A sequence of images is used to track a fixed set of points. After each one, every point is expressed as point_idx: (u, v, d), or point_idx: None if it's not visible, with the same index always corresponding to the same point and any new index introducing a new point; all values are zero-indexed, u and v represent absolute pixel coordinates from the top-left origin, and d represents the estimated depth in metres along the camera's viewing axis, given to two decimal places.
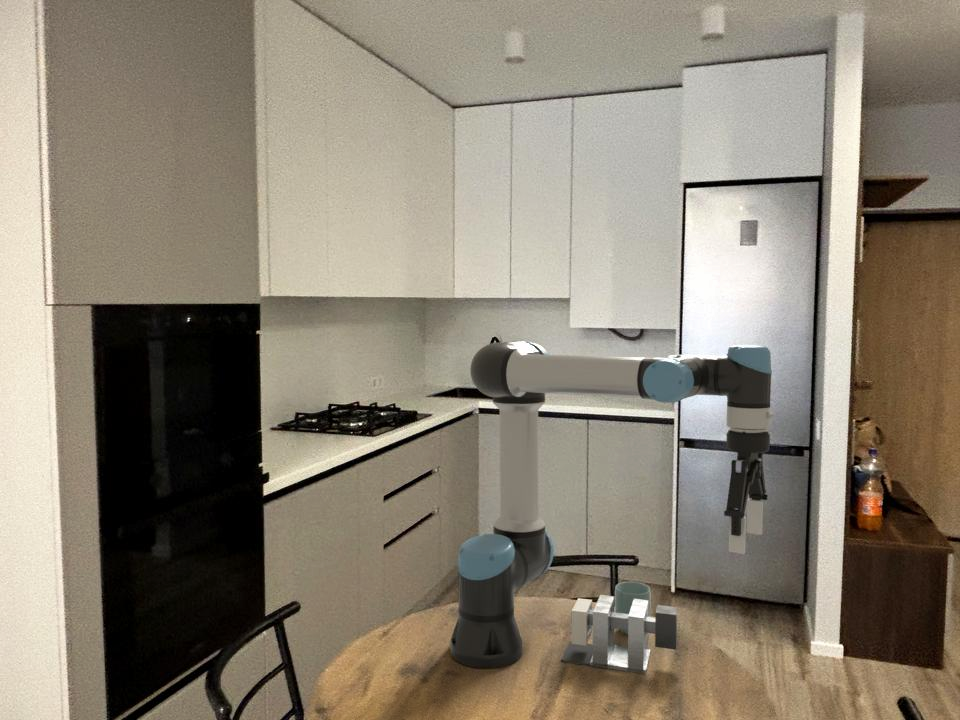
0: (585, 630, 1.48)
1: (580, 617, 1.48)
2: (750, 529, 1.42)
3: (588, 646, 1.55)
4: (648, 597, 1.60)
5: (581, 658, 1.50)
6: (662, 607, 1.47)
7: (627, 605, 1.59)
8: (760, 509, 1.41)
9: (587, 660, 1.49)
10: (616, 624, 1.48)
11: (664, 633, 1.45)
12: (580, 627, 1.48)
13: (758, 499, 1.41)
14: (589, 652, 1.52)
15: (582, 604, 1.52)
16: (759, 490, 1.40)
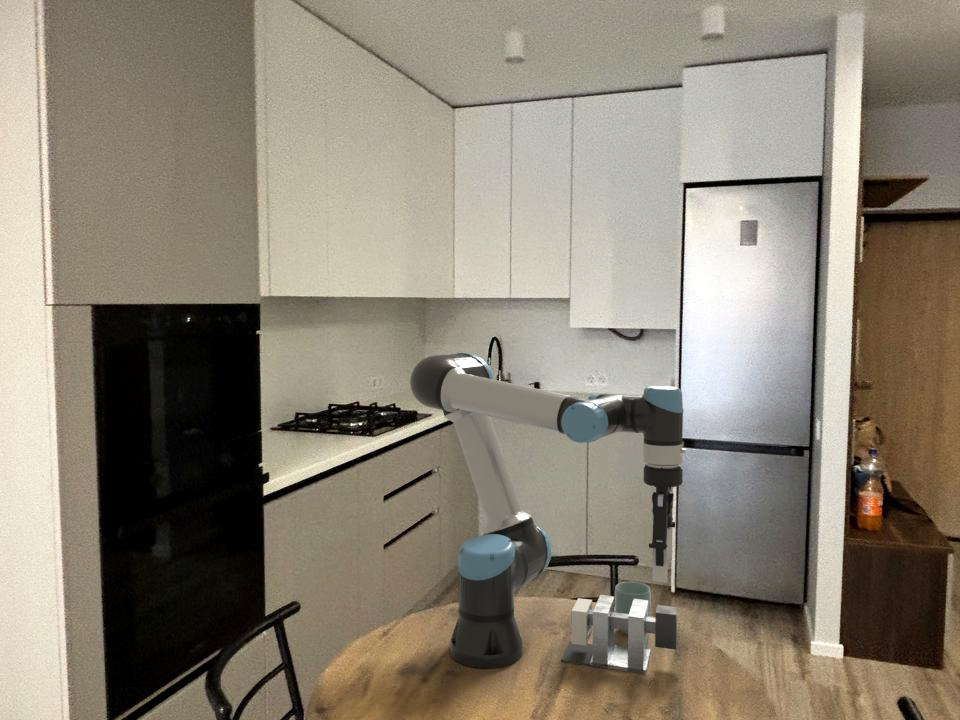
0: (585, 630, 1.48)
1: (580, 617, 1.48)
2: None
3: (588, 646, 1.55)
4: (648, 597, 1.60)
5: (581, 658, 1.50)
6: (662, 607, 1.47)
7: (627, 605, 1.59)
8: (670, 536, 1.51)
9: (587, 660, 1.49)
10: (616, 624, 1.48)
11: (664, 633, 1.45)
12: (580, 627, 1.48)
13: (667, 527, 1.52)
14: (589, 652, 1.52)
15: (582, 604, 1.52)
16: (669, 519, 1.50)
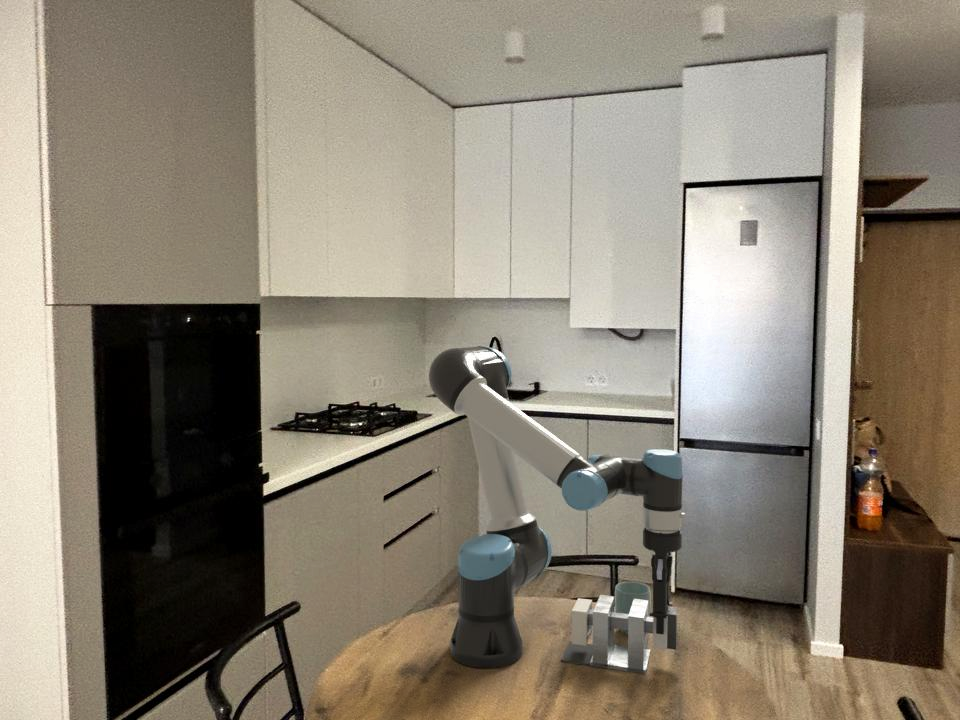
0: (585, 630, 1.48)
1: (580, 617, 1.48)
2: None
3: (588, 646, 1.55)
4: (648, 597, 1.60)
5: (581, 658, 1.50)
6: None
7: (627, 605, 1.59)
8: None
9: (587, 660, 1.49)
10: (616, 624, 1.48)
11: None
12: (580, 627, 1.48)
13: None
14: (589, 652, 1.52)
15: (582, 604, 1.52)
16: (667, 592, 1.48)
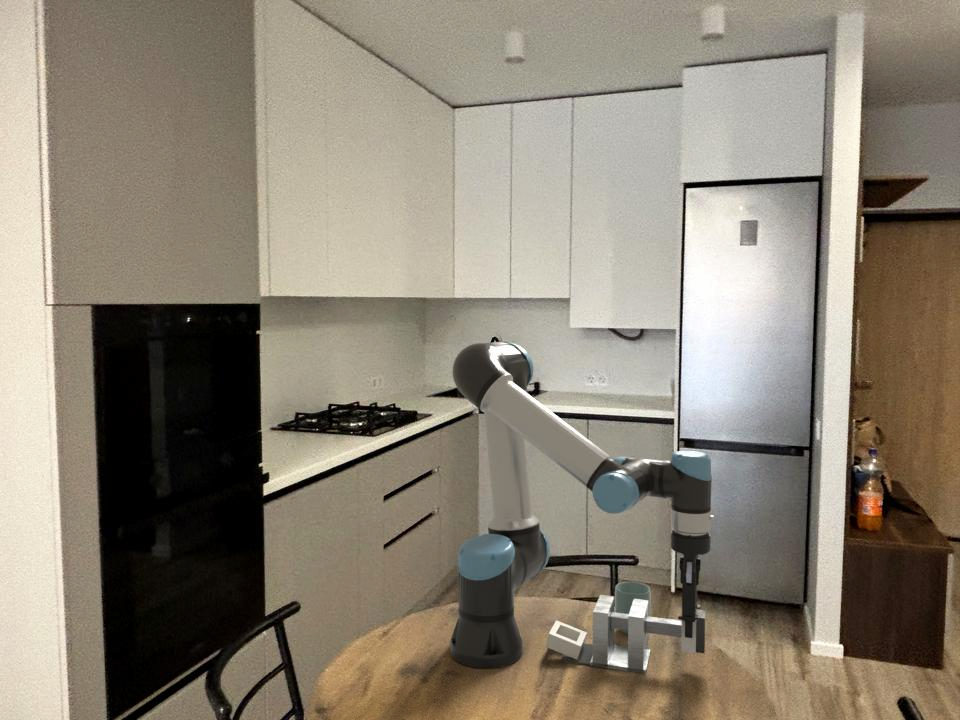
0: (566, 641, 1.49)
1: (553, 641, 1.50)
2: None
3: (588, 646, 1.55)
4: (648, 597, 1.60)
5: (581, 658, 1.50)
6: None
7: (627, 605, 1.59)
8: None
9: (587, 660, 1.49)
10: None
11: None
12: (562, 644, 1.50)
13: None
14: (589, 652, 1.52)
15: None
16: None
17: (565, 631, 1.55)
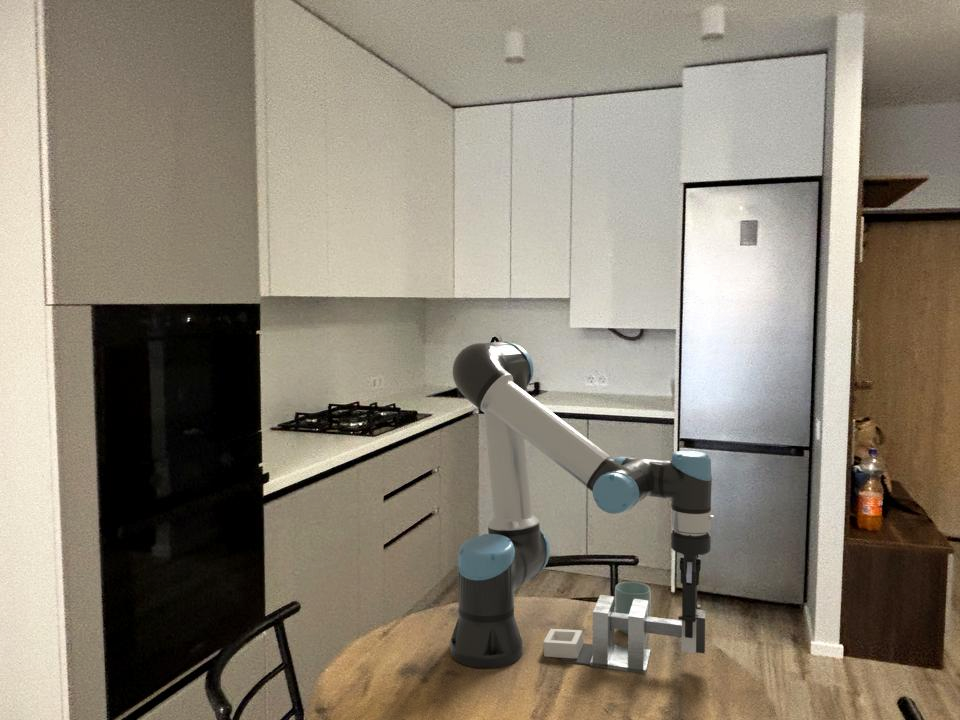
0: (561, 644, 1.50)
1: (549, 648, 1.51)
2: None
3: (588, 646, 1.55)
4: (648, 597, 1.60)
5: (581, 658, 1.50)
6: None
7: (627, 605, 1.59)
8: None
9: (587, 660, 1.49)
10: None
11: None
12: (559, 648, 1.50)
13: None
14: (589, 652, 1.52)
15: None
16: (695, 595, 1.46)
17: (561, 636, 1.56)
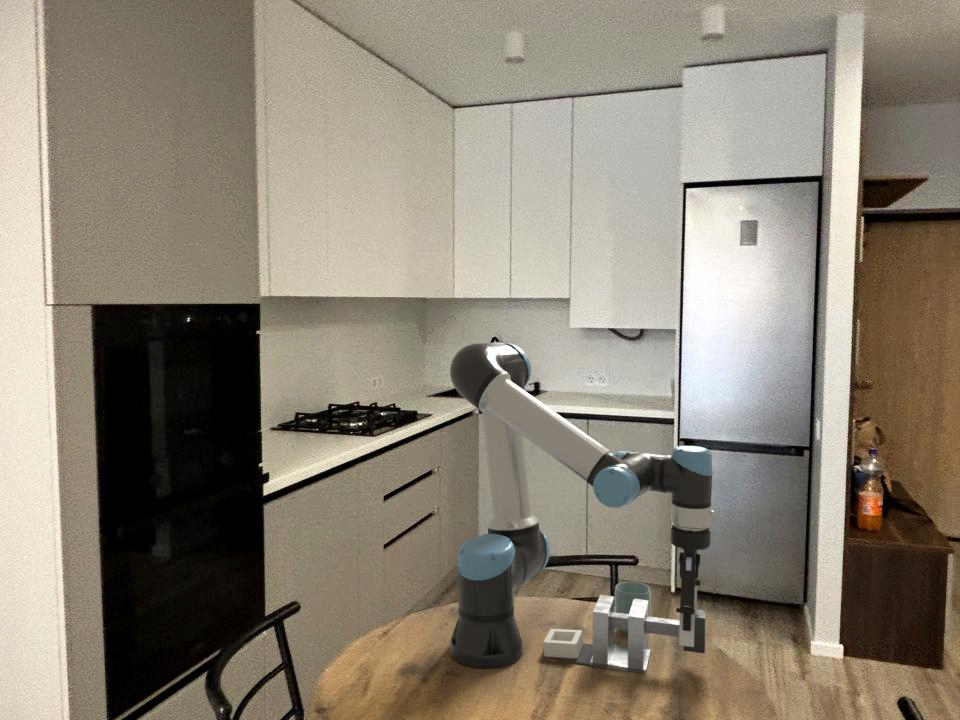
0: (561, 644, 1.50)
1: (549, 648, 1.51)
2: None
3: (588, 646, 1.55)
4: (648, 597, 1.60)
5: (581, 658, 1.50)
6: None
7: (627, 605, 1.59)
8: (695, 595, 1.51)
9: (587, 660, 1.49)
10: None
11: None
12: (559, 648, 1.50)
13: None
14: (589, 652, 1.52)
15: None
16: None
17: (561, 636, 1.56)
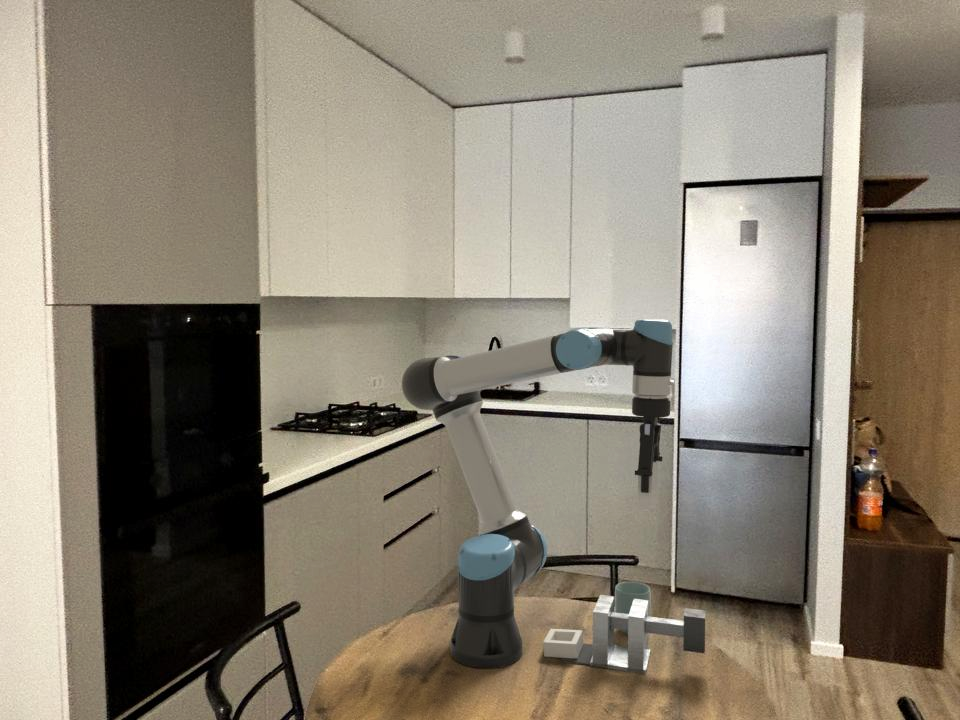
0: (561, 644, 1.50)
1: (549, 648, 1.51)
2: None
3: (588, 646, 1.55)
4: (648, 597, 1.60)
5: (581, 658, 1.50)
6: (690, 610, 1.46)
7: (627, 605, 1.59)
8: (657, 469, 1.54)
9: (587, 660, 1.49)
10: None
11: (692, 637, 1.43)
12: (559, 648, 1.50)
13: (655, 461, 1.55)
14: (589, 652, 1.52)
15: None
16: (657, 452, 1.53)
17: (561, 636, 1.56)
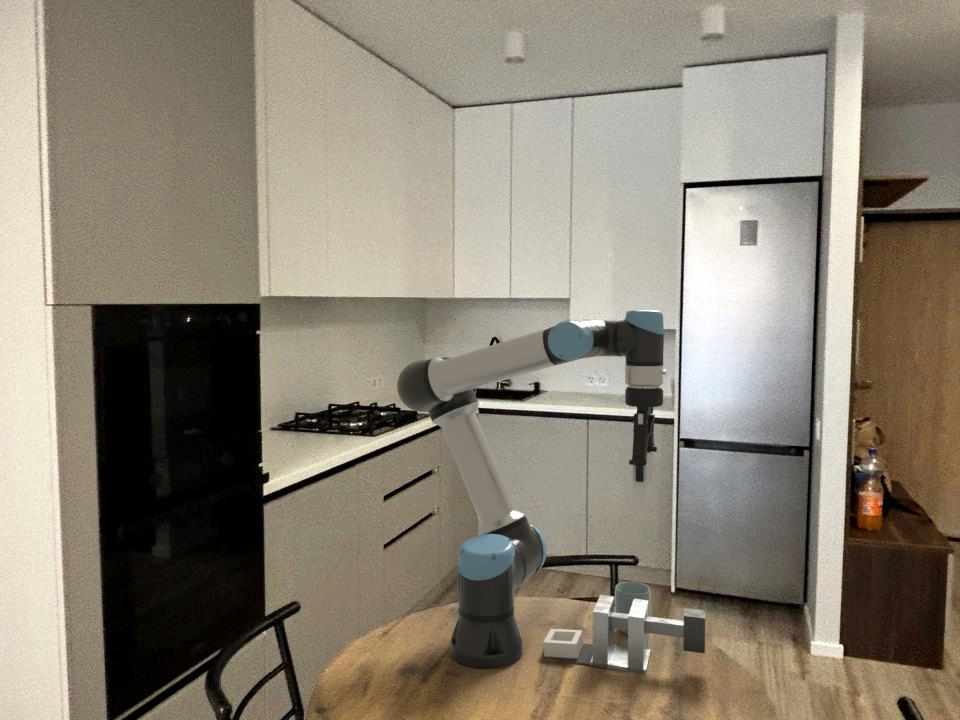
0: (561, 644, 1.50)
1: (549, 648, 1.51)
2: None
3: (588, 646, 1.55)
4: (648, 597, 1.60)
5: (581, 658, 1.50)
6: (690, 610, 1.46)
7: (627, 605, 1.59)
8: (651, 460, 1.55)
9: (587, 660, 1.49)
10: None
11: (692, 637, 1.43)
12: (559, 648, 1.50)
13: (649, 451, 1.56)
14: (589, 652, 1.52)
15: None
16: (651, 442, 1.54)
17: (561, 636, 1.56)
